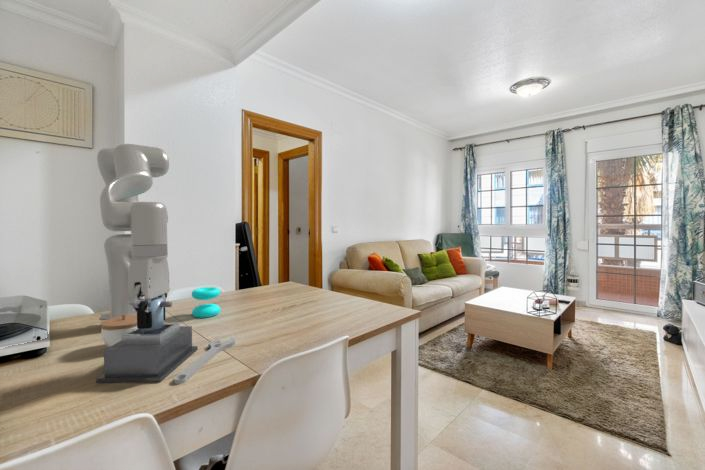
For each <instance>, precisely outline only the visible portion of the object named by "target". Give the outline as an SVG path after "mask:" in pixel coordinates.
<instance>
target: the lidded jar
mask: <svg viewBox="0 0 705 470" xmlns="http://www.w3.org/2000/svg"><path fill="white" fill-rule="evenodd" d="M99 326H100V330H101V332H100V333H101V337H102V341H103V343H104V344H105V345H106V346H107V348H109V347H111V346H112V345H114V344H116V343H118V342H120V341H121V336H122V335H124V334H126V333H127V332H129V331H131V330H133V329H135V328H137V315H126V314H122V316H119V317H114V318H110V319H107V320H102V322H101V323H100V325H99Z"/></svg>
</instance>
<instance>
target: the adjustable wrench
mask: <svg viewBox="0 0 705 470" xmlns="http://www.w3.org/2000/svg"><path fill="white" fill-rule="evenodd" d="M207 345H208V346H207V348H208V349H207V351H205V353H203V354H202V355H201V356H199V357H198V358H197V359H195V361H193V362H192V363H191V364H189V365H188V366H187V367H185V368H184V369H183V370H182V371H181V372H179V373H178V374H177V375H175V376H174V378H173V382H174V384H175V385H182V384H185V383H186V382H188V381H189V379H191V378H192V377H193V376H194V375H195V374H197V373H198V372H199V371H200V370H201V369H202V368H203V367H204V366H205V365H207V364H208V362H210V361H211V360H212V359H213V358H214V357H215V356H217V355H218V354H219V353H220V352H223V351H225V350H227V349H230V348H232V347H233V346H235V345H236V339H235V337H233V336H230V338H229V340H226V341H221V338H216V339H214V340H212V341H211V342H210V343H207Z"/></svg>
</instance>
